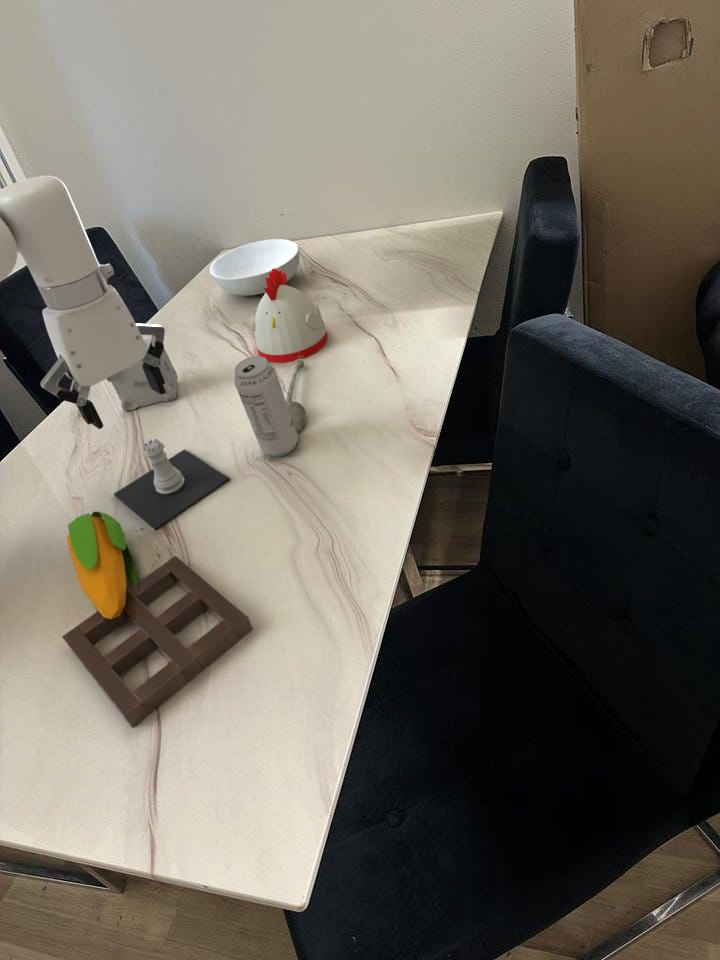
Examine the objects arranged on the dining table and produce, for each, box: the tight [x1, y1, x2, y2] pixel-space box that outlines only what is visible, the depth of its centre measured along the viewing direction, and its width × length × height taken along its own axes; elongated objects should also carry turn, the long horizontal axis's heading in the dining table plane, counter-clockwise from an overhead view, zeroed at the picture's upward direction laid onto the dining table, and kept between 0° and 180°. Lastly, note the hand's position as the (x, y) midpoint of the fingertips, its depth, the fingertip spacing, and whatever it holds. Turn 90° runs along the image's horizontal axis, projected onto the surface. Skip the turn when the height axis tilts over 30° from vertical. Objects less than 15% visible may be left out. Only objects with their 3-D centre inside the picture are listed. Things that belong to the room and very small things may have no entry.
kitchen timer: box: [250, 268, 329, 364], centre depth 124 cm, size 14×14×15 cm
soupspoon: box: [285, 359, 307, 434], centre depth 112 cm, size 22×3×7 cm
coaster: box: [113, 449, 231, 531], centre depth 100 cm, size 13×13×1 cm
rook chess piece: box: [141, 438, 185, 495], centre depth 97 cm, size 4×4×8 cm
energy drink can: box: [233, 355, 299, 458], centre depth 98 cm, size 6×6×15 cm
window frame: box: [62, 555, 254, 728], centre depth 77 cm, size 16×16×2 cm
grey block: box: [106, 338, 179, 413], centre depth 119 cm, size 10×8×10 cm
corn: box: [66, 511, 139, 619], centre depth 84 cm, size 7×8×20 cm
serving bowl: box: [209, 238, 301, 297], centre depth 153 cm, size 21×21×7 cm
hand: (128, 407), depth 91 cm, fingers open, 9 cm apart
